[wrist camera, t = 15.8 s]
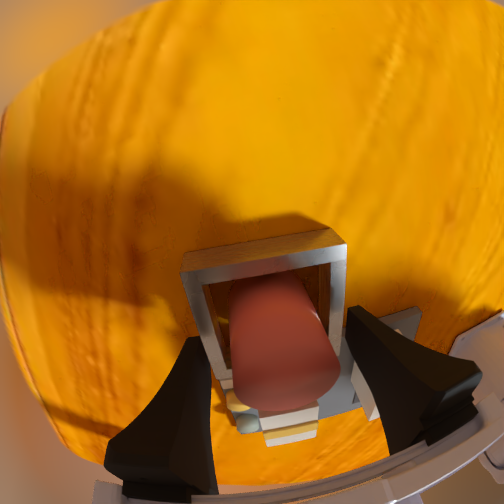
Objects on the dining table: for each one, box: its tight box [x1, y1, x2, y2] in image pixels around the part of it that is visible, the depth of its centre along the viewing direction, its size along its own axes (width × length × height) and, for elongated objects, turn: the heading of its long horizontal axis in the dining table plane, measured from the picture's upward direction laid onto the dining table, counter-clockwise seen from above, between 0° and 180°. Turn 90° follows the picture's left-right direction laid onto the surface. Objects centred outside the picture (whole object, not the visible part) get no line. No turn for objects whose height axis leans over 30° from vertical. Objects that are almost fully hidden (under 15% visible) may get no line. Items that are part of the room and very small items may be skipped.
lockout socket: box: [180, 228, 347, 379], centre depth 15 cm, size 8×8×2 cm
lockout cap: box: [228, 270, 341, 411], centre depth 13 cm, size 4×4×6 cm
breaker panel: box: [218, 306, 422, 434], centre depth 19 cm, size 15×11×2 cm
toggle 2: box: [351, 329, 402, 421], centre depth 15 cm, size 3×4×4 cm
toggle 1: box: [258, 400, 319, 447], centre depth 15 cm, size 3×4×4 cm
